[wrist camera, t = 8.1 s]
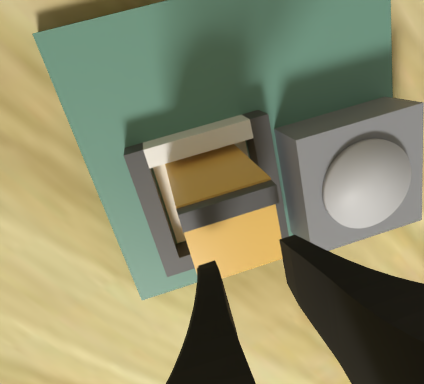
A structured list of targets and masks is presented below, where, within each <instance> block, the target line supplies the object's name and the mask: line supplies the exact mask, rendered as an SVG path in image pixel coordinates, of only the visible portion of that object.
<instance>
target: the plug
mask: <svg viewBox="0 0 424 384" xmlns="http://www.w3.org/2000/svg"><path fill="white" fill-rule="evenodd" d="M165 166H166V170H167V174H168V178H169V182H170V186H171V190H172V194H173V198H174V202H175V206H176V210H177V214H178V217H179V220H180V224H181V227H182V230H183V233H184V235H185V238H186V241H187V245H188V248H189V251H190V254H191V257H192V261H193V264H194V267H195V270H196V273H197V268H198V266H199V265H202V264H205V263H208V262H211V261H214V260H215V261H216V264H217V266H218V268H219V271H220V274H221V278H225V277H228V276H231V275H234V274H237V273H240V272H243V271H246V270H249V269H252V268H255V267H259V266H262V265H265V264H268V263H271V262H274V261H277V260H280V259H283V257H282V252H281V247H280V241H279V239H282V238H281V232H280V226H279V221H278V215H277V210H276V204H277V203H280V202H279V196H278V190H277V185H276V184H275V183H274V182H273V181H272V180H271V177H270V176H268V175H267V174H266V173H265V172H264V171H263V170H262V169H261V168H260V167H259V166H257V165H256V164H255V163H254V162H253V161H252V160H251V159H250V158H249V157H248V156H246V155H245V154H244V153H243V152H242V151H241V150H240V149H239V148H238V147H237V146H235V145H234V144H231V145H228V146H225V147H221V148H218V149H214V150H211V151H207V152H204V153H201V154H197V155H194V156H190V157H187V158H183V159H180V160H177V161H173V162H170V163H166V164H165Z"/></svg>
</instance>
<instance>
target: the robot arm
mask: <svg viewBox="0 0 424 384" xmlns="http://www.w3.org/2000/svg"><path fill="white" fill-rule="evenodd" d="M279 241H280V247H281V252H282V257H283V263H284V268H285V274H286V279H287V284H288V286H289V288H290V289H291V291H292V293H293V295H294V297H295V299H296V301H297V303H298V304H299V306H300V308H301V309H302V310H303V312H304V313H305V315H306V316H307V318H308V319H309V320H310V322H311V323H312V325H313V326H314V328H315V329H316V330H317V332H318V333H319V335H320V336H321V337H322V339H323V340H324V342H325V343H326V344H327V346H328V347H329V349H330V350H331V351H332V353H333V354H334V356H335V357H336V359H337V360H338V362H339V363H340V365H341V366H342V368H343V370H344V371H345V373H346V375H347V376H348V378H349V380H350V382H351V383H352V384H424V284H423V283H418V282H414V281H410V280H406V279H402V278H398V277H395V276H391V275H388V274H385V273H382V272H379V271H375V270H373V269H370V268H367V267H364V266H362V265H359V264H357V263H354V262H352V261H349V260H347V259H344V258H342V257H340V256H338V255H335V254H333V253H331V252H329V251H327V250H325V249H323V248H321V247H319V246H317V245H315V244H313V243H311V242H309V241H307V240H305V239H303V238H301V237H299V236H297V235H292V236H289V237H285V238H282V239H279ZM166 384H256V383H255V381H254V378H253V376H252V373H251V371H250V368H249V366H248V363H247V361H246V358H245V355H244V353H243V350H242V348H241V345H240V342H239V340H238V336H237V332H236V328H235V324H234V321H233V317H232V314H231V310H230V306H229V303H228V299H227V296H226V292H225V289H224V285H223V281H222V278H221V274H220V271H219V268H218V266H217V264H216V261H215V260H214V261H211V262H208V263H205V264H202V265H199V266H198V268H197V288H196V295H195V302H194V307H193V312H192V316H191V320H190V324H189V328H188V331H187V334H186V337H185V340H184V343H183V346H182V349H181V351H180V354H179V356H178V359H177V361H176V363H175V366H174V368H173V370H172V373H171V375H170V377H169V379H168V381H167V382H166Z"/></svg>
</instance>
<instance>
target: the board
mask: <svg viewBox="0 0 424 384" xmlns="http://www.w3.org/2000/svg"><path fill="white" fill-rule="evenodd" d="M33 36H34V39H35V41H36V44H37V46H38V49H39V51H40V53H41V56H42V58H43V61H44V63H45V66H46V68H47V71H48V73H49V75H50V78H51V80H52V83H53V85H54V88H55V90H56V92H57V95H58V97H59V100H60V102H61V105H62V107H63V109H64V112H65V114H66V117H67V119H68V122H69V124H70V127H71V129H72V131H73V134H74V136H75V139H76V141H77V144H78V146H79V148H80V151H81V153H82V156H83V158H84V161H85V163H86V165H87V168H88V170H89V173H90V175H91V178H92V180H93V183H94V185H95V187H96V190H97V192H98V195H99V197H100V200H101V202H102V204H103V207H104V209H105V212H106V214H107V217H108V219H109V221H110V224H111V226H112V229H113V231H114V234H115V236H116V238H117V241H118V243H119V246H120V248H121V251H122V253H123V256H124V258H125V260H126V263H127V265H128V268H129V270H130V273H131V275H132V277H133V280H134V282H135V285H136V287H137V290H138V292H139V294H140V297H141V299H142V300H145V299H148V298H151V297H154V296H157V295H160V294H163V293H166V292H169V291H172V290H175V289H178V288H181V287H184V286H187V285H190V284H194V283H197V273H196V270H195V267H194V264H193V261H192V257H191V254H190V251H189V248H188V245H187V241H186V238H185V235H184V233H183V230H182V227H181V224H180V220H179V217H178V214H177V210H176V206H175V202H174V198H173V194H172V190H171V186H170V182H169V178H168V174H167V170H166V166H165V164H166V163H170V162H173V161H177V160H180V159H183V158H187V157H190V156H194V155H197V154H201V153H204V152H207V151H211V150H214V149H218V148H221V147H225V146H228V145H231V144H234V145H235V146H237V147H238V148H239V149H240V150H241V151H242V152H243V153H244V154H245V155H246V156H248V157H249V158H250V159H251V160H252V161H253V162H254V163H255V164H256V165H257V166H259V167H260V168H261V169H262V170H263V171H264V172H265V173H266V174H267V175H268V176H270V177H271V180H272V181H273V182H274V183H275V184H276V185H277V190H278V196H279V202H280V203H277V204H276V210H277V215H278V221H279V226H280V232H281V238H285V237H289V236H292V235H297V236H299V237H301V238H303V239H305V240H307V241H309V242H311V243H313V244H315V245H317V246H319V247H321V248H323V249H325V250H327V251H329V250H332V249H335V248H338V247H341V246H344V245H347V244H350V243H353V242H356V241H359V240H362V239H365V238H368V237H371V236H374V235H377V234H380V233H383V232H386V231H389V230H392V229H396V228H399V227H402V226H405V225H408V224H411V223H414V222H417V221H420V220H422V164H423V103H422V102H416V101H410V100H404V99H397V98H393V92H392V45H391V0H167V1H163V2H159V3H155V4H151V5H147V6H143V7H139V8H134V9H130V10H126V11H122V12H118V13H114V14H110V15H106V16H102V17H98V18H94V19H90V20H86V21H82V22H78V23H74V24H70V25H66V26H62V27H58V28H54V29H50V30H46V31H41V32H37V33H33Z"/></svg>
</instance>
